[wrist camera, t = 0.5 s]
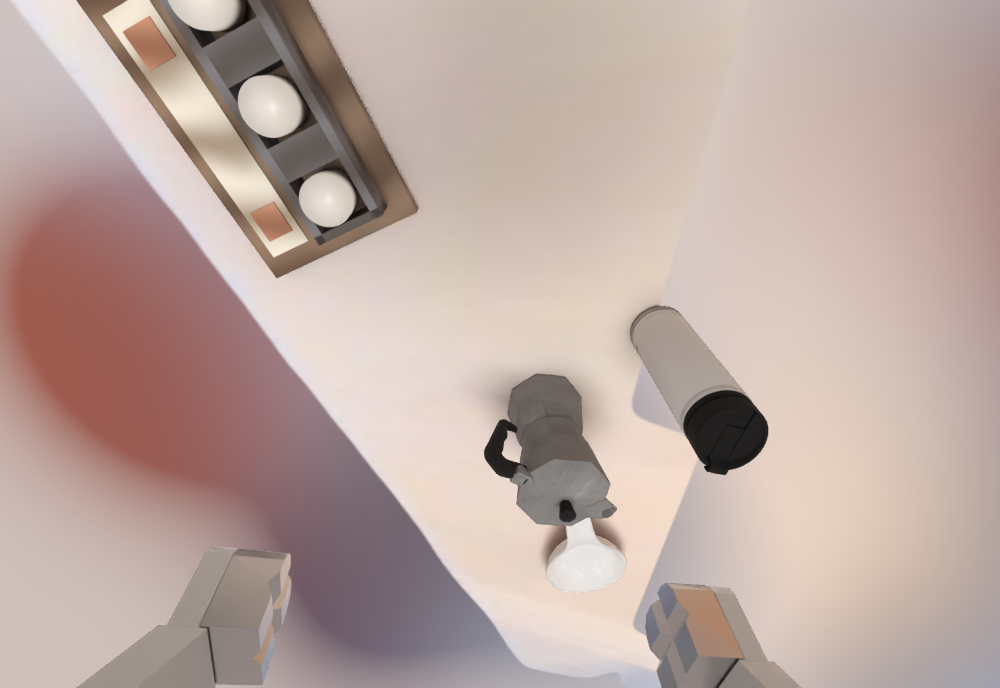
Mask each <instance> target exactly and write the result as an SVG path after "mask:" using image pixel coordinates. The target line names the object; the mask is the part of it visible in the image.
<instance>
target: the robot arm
mask: <svg viewBox="0 0 1000 688" xmlns="http://www.w3.org/2000/svg"><path fill="white" fill-rule="evenodd" d="M290 558H291V557H290V554H287V553H277V552H266V551H256V550H246V549H238V548H225V547H214V546H212V547H211V548H210V549H209V550H208V551H207V552H206V553H205V555H204V557H203V558H202V560H201V562H200V564H199V566H198V568H197V570H196V571H195V573H194V575H193V577H192V579H191V581H190V583H189V585H188V587H187V589H186V590H185V592H184V594H183V596H182V598H181V600H180V602H179V603H178V605H177V607H176V609H175V611H174V613H173V615H172V617H171V619H170V620H169V623H168V624H167V625H158V626H157V627H155V628H154V629H153V630H152V631H150V632H149V633H148V634H146V635H145V636H144V637H142V638H141V639H140V640H138V641H137V642H136V643H134V644H133V645H132V646H131V647H129V648H128V649H127V650H125V651H124V652H123V653H121V654H120V655H119V656H117V658H115V659H114V660H112V661H111V662H110V663H108V664H107V665H106V666H104V667H103V668H102V669H100V670H99V671H98V672H96V673H95V674H94V675H93V676H91V677H90V678H89V679H87V680H86V681H85V682H83V683H82V684H81V685H79V686H78V687H77V688H215V684H230V685H233V684H234V685H263V682H264V679H265V676H266V673H267V670H268V667H269V664H270V660H271V658H272V655H273V652H274V634H275V632H277V631H278V630H279V629H280V628H281V627H282V624H283V621H284V618H285V615H286V611H287V607H288V603H289V598H290V590H291V578H290V577H289V576H288V575H287V574H288V571H289V568H290V565H291V559H290ZM658 595H659V598H660V600H658V601H656V602H655V603H653V604H651V606H650V608H649V610H648V612H647V614H646V635H647V640H648V643H649V647H650V650H651V651H652V652H653V653H654V654H655V655H656V656H657V658H658V659H659V660H660V662H659V665H658V668H657V674H658V677H659V680H660V683H661V686H662V688H801V687H800V686H799V685H798V684H797V683H796V682H795V681H794V680H793V679H792V678H791V677H790V676H789V675H788V674H786V673H785V672H784V671H783V670H782V669H781V668H780V667H779V666H778V665H777V664H776V663H775V662H771V661H768V660H767V658H766V657H765V654H764V652H763V650H762V648H761V646H760V644H759V642H758V641H757V638H756V636H755V634H754V632H753V630H752V628H751V626H750V624H749V622H748V620H747V618H746V616H745V614H744V612H743V610H742V608H741V606H740V604H739V602H738V600H737V598H736V596H735V594H734V593H733V592H732V591H731V590H730V588H725V587H709V586H705V585H691V584H675V583H665V584H663V585H662V586H661V587H660V589H659V591H658Z"/></svg>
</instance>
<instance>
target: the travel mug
mask: <svg viewBox="0 0 1000 688" xmlns="http://www.w3.org/2000/svg"><path fill="white" fill-rule="evenodd" d="M630 336H631V341H632V343H633V345H634V347H635V349H636V350H637V352H638V354H639V356H640V357H641V359H642V361H643V363H644V364H645V366H646V368H647V370H648V372H649V373H650V375H651V377H652V379H653V380H654V382H655V384H656V386H657V387H658V389H659V391H660V393H661V394H662V396H663V398H664V399H665V401H666V403H667V404H668V407H669V408H670V410H671V412H672V414H673V415H674V417H675V419H676V421H677V422H678V424H679V426H680V428H681V429H682V431H683V433H684V435H685V436H686V438H687V439H688V440H689V442H690V444H691V446H692V447H693V449H694V451H695V453H696V454H697V456H698V458H699V459H700V461H701V462H702V463H703V464H705V465H706V466H704V468H705V470H706V471H707V472H711V473H715V474H721V475H726V474H727V472H728V470H732V469H736V468H739V467H741V466H744V465H745V464H747V463H749V462H750V461H751V460H753V459H754V458H755V457H756V456H757V455H758V454H759V453H760V452H761V450H762V449H763V447H764V445H765V443H766V441H767V437H768V425H767V421H766V420H765V418H764V416H763V415H762V414H761V412H760V411H759V410H758V409H757V407H756V406H755V405H754V404H753V403H752V401H751V399H750V398H749V397H748V396H747V395H746V393H745V392H744V391H743V389H742V388H741V387H740V386H739V385H738V384H737V382H736V381H735V380H734V378H733V377H732V376H731V375H730V374H729V372H728V371H727V370H726V369H725V367H724V366H723V365H722V364H721V363H720V361H719V360H718V359H717V358H716V357H715V355H714V354H713V353H712V352H711V350H710V349H709V348H708V347H707V346H706V344H705V343H704V342H703V341H702V339H701V338H700V337H699V336H698V335H697V334H696V332H695V331H694V330H693V329H692V327H691V326H690V325H689V324H688V322H687V321H686V320H685V319H684V318H683V316H682V315H681V314H680V313H679V312H678V311H677V310H675V309H674V308H671V307H666V306H658V307H653V308H650V309H648V310H646V311H644V312H643V313H642V314H640V315H639V316H638V317H637V319H636V320H635V321H634V323H633V325H632V328H631V333H630Z"/></svg>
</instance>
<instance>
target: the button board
mask: <svg viewBox="0 0 1000 688" xmlns="http://www.w3.org/2000/svg"><path fill="white" fill-rule="evenodd" d="M76 1H77V2H78V3H79V5H80V6H81V7H82V9H83V10H84V12H85V13H86V14H87V16H88V17H89V19H90V20H91V21H92V23H93V24H94V25H95V27H96V28H97V30H98V31H99V32H100V34H101V35H102V37H103V38H104V39H105V41H106V42H107V44H108V45H109V46H110V48H111V49H112V50H113V52H114V53H115V55H116V56H117V57H118V59H119V60H120V62H121V63H122V64H123V66H124V67H125V68H126V70H127V71H128V73H129V74H130V75H131V77H132V78H133V80H134V81H135V82H136V84H137V85H138V87H139V88H140V89H141V91H142V92H143V93H144V95H145V96H146V98H147V99H148V100H149V102H150V103H151V105H152V106H153V107H154V109H155V110H156V111H157V113H158V114H159V116H160V117H161V118H162V120H163V121H164V123H165V124H166V125H167V127H168V128H169V130H170V131H171V132H172V134H173V135H174V136H175V138H176V139H177V141H178V142H179V143H180V145H181V146H182V148H183V149H184V150H185V152H186V153H187V154H188V156H189V157H190V159H191V160H192V161H193V163H194V164H195V166H196V167H197V168H198V170H199V171H200V173H201V174H202V175H203V177H204V178H205V179H206V181H207V182H208V184H209V185H210V186H211V188H212V189H213V191H214V192H215V193H216V195H217V196H218V197H219V199H220V200H221V202H222V203H223V204H224V206H225V207H226V209H227V210H228V211H229V213H230V214H231V216H232V217H233V218H234V220H235V221H236V222H237V224H238V225H239V227H240V228H241V229H242V231H243V232H244V234H245V235H246V236H247V238H248V239H249V240H250V242H251V243H252V245H253V246H254V247H255V249H256V250H257V252H258V253H259V254H260V256H261V257H262V259H263V260H264V261H265V263H266V264H267V265H268V267H269V268H270V270H271V271H272V272H273V274H274V275H275V277H276V278H279V277H281V276H283V275H285V274H287V273H289V272H291V271H293V270H296V269H298V268H300V267H302V266H304V265H306V264H308V263H310V262H312V261H315V260H317V259H319V258H321V257H323V256H325V255H327V254H329V253H332V252H334V251H336V250H338V249H340V248H342V247H344V246H346V245H348V244H351V243H353V242H355V241H357V240H359V239H361V238H363V237H365V236H368V235H370V234H372V233H374V232H376V231H378V230H380V229H382V228H384V227H387V226H389V225H391V224H393V223H395V222H397V221H399V220H401V219H403V218H406V217H408V216H410V215H412V214H414V213H416V212H417V210H418V207H417V206H416V204H415V202H414V200H413V198H412V196H411V194H410V192H409V190H408V189H407V187H406V185H405V183H404V181H403V179H402V177H401V175H400V173H399V172H398V170H397V168H396V166H395V164H394V162H393V160H392V158H391V156H390V154H389V153H388V151H387V149H386V147H385V145H384V143H383V141H382V139H381V137H380V136H379V134H378V132H377V130H376V128H375V126H374V124H373V122H372V120H371V119H370V117H369V115H368V113H367V111H366V109H365V107H364V105H363V103H362V102H361V100H360V98H359V96H358V94H357V92H356V90H355V88H354V86H353V85H352V83H351V81H350V79H349V77H348V75H347V73H346V71H345V69H344V68H343V66H342V64H341V62H340V60H339V58H338V56H337V54H336V52H335V50H334V49H333V47H332V45H331V43H330V41H329V39H328V37H327V35H326V33H325V32H324V30H323V28H322V26H321V24H320V22H319V20H318V18H317V16H316V15H315V13H314V11H313V9H312V7H311V5H310V3H309V1H308V0H246V14H245V17H244V20H243V22H242V23H241V24H240V25H239V26H238V27H237V28H236V29H234V30H232V31H229V32H215V31H205V30H199V29H196V28H193V27H191V26H189V25H188V24H186V23H185V22H183V21H182V20H181V19H180V18H179V17H178V16H177V15H176V14H175V12H174V11H173V9H172V8H171V6H170V4H169V2H168V0H76ZM263 75H281V76H285V77H287V78H289V79H290V80H292V81H293V82H294V83H296V85H297V87H298V88H299V90H300V92H301V94H302V95H303V97H304V99H305V100H306V102H307V117H306V120H305V122H304V123H303V125H302V126H301V127H300V128H299V129H297V130H296V131H293V132H291V133H289V134H286V135H284V136H282V137H277V138H270V137H265V136H262V135H260V134H258V133H256V132H255V131H254V130H252V129H251V128H250V127H249V126H248V125H247V124H246V122H245V121H244V119H243V117H242V115H241V113H240V110H239V106H238V95H239V91H240V88H241V87H242V85H243V84H244V83H245V82H246V81H247V80H248V79H250V78H252V77H255V76H263ZM326 168H334V169H338V170H341V171H343V172H345V173H346V174H348V175H349V176H350V178H351V180H352V182H353V183H354V185H355V187H356V189H357V190H358V194H359V199H358V204H357V206H356V208H355V209H354V211H353V212H352V213H351V215H350V216H349V217H348V219H347V220H346V221H345V222H344V223H342V224H340V225H338V226H335V227H324V226H320V225H318V224H316V223H314V222H313V221H311V220H310V219H309V218H308V217H307V216H306V215H305V214H304V212H303V210H302V208H301V206H300V202H299V192H300V189H301V186H302V185H303V183H304V182H305V181H306V180H307V179H309V178H310V177H311V176H313V175H314V174H315V173H317V172H318V171H320V170H322V169H326Z"/></svg>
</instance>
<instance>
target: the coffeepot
mask: <svg viewBox="0 0 1000 688" xmlns="http://www.w3.org/2000/svg"><path fill="white" fill-rule="evenodd" d="M508 416H509V419H510V421H511V422H509V421H507V420H504V419H503V420H500V421H499V422H498V424H497V426H496V428H495V430H494V432H493V434H492V436H491V438H490V440H489V442H488V444H487V446H486V447H485V450H484V457H485V459H486V461H487V463H488V464H489V465H490V466H491V467H492V469H493V470H494V471H495V472H496V474H498V475H499V476H502V477H505V478H510V482H512V483H514V484H517V485H518V494H517V502H516V504H517V505H518V506H519V507H520V508H521V509H522V510H523V511H524V512H525V513H526V514H527V515H528V516H529V517H530V518H531V519H532V520H533V521H534V522H535V523H536V524H545V525H560V526H573V525H575V524H576V523H578V522H580V521H582V520H584V519H586V518H598V519H602V518H608V517H610V516H612V515H613V513H614V512H615V511H616V510H617V508H616V507H615V506H614V505H613V504H612V503H611V502H610V501H608V500H607V499H606V495H607V493H608V490H609V487H610V482H609V480H608V478H607V476H606V475H605V473H604V471H603V469H602V467H601V466H600V464H599V462H598V460H597V458H596V456H595V455H594V453H593V451H592V449H591V447H590V446H589V444H588V442H587V441H586V440H585V438H584V437H583V436H582V430H583V426H582V404H581V396H580V395H579V394H578V392H577V391H576V390H575V388H574V387H573V386H572V385H571V384H570V383H569V381H568V380H567V379H566V378H564V377H559V376H554V375H535V376H533V377H531V378H529V379H527V380H525V381H523V382H522V383H521V384H520V385H518V386H517V387H516V388H515V389H513V390H512V393H511V398H510V403H509V408H508ZM507 430H508V431H512V432H515V434H516V437H517V439H518V442H519V444H520V445H521V447H522V451H521V457H520V463H517V462H513V461H510V460H507V459H505V458H504V456H503V455H502V451H503V446H504V441H505V440H506V438H507Z"/></svg>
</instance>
